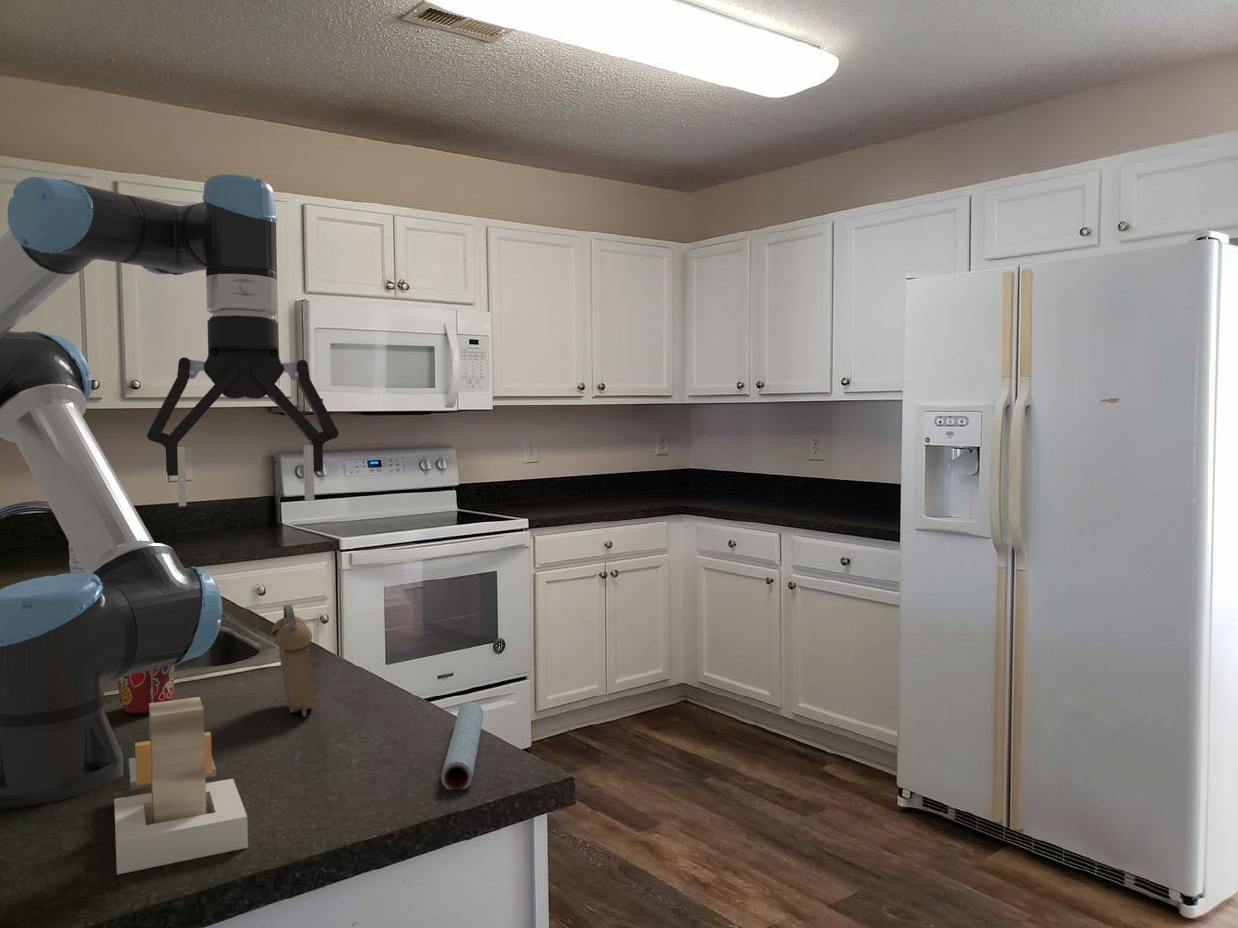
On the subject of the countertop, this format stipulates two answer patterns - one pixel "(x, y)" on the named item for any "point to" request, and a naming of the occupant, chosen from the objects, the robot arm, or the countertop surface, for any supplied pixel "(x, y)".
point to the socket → (178, 830)
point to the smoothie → (146, 688)
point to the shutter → (142, 764)
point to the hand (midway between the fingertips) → (247, 503)
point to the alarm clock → (295, 660)
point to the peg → (177, 759)
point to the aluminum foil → (463, 747)
